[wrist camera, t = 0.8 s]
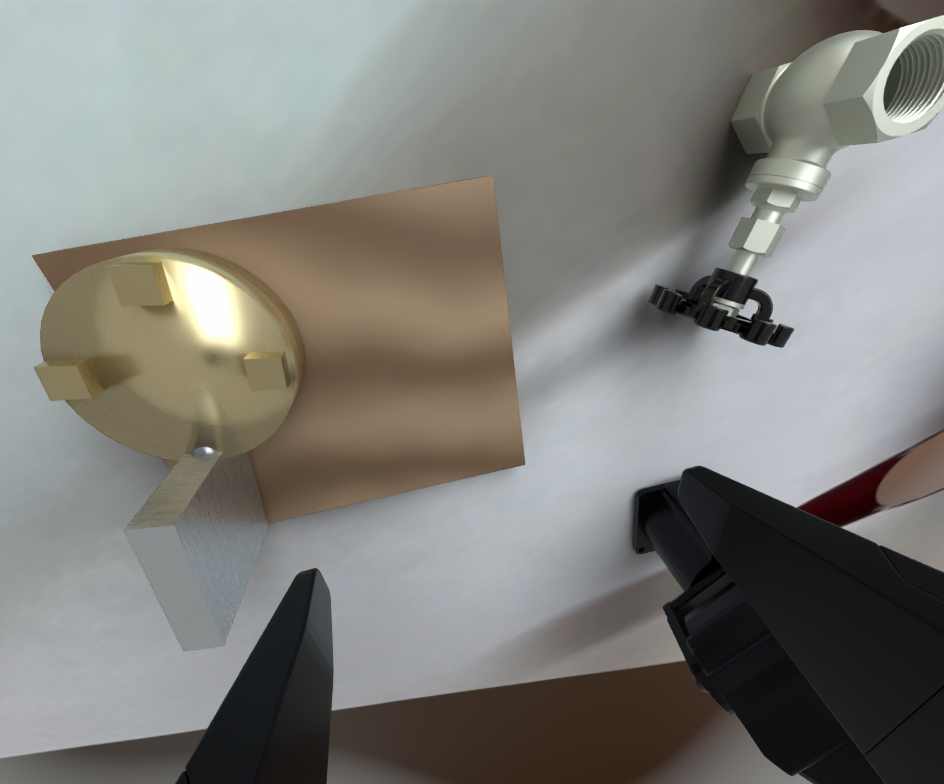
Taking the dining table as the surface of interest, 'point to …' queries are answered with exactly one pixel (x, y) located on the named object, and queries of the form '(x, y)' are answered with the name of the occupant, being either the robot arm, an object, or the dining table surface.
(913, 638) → the robot arm
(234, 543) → the ring nut spanner
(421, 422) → the walnut base
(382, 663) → the dining table surface
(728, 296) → the valve
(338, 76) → the dining table surface
